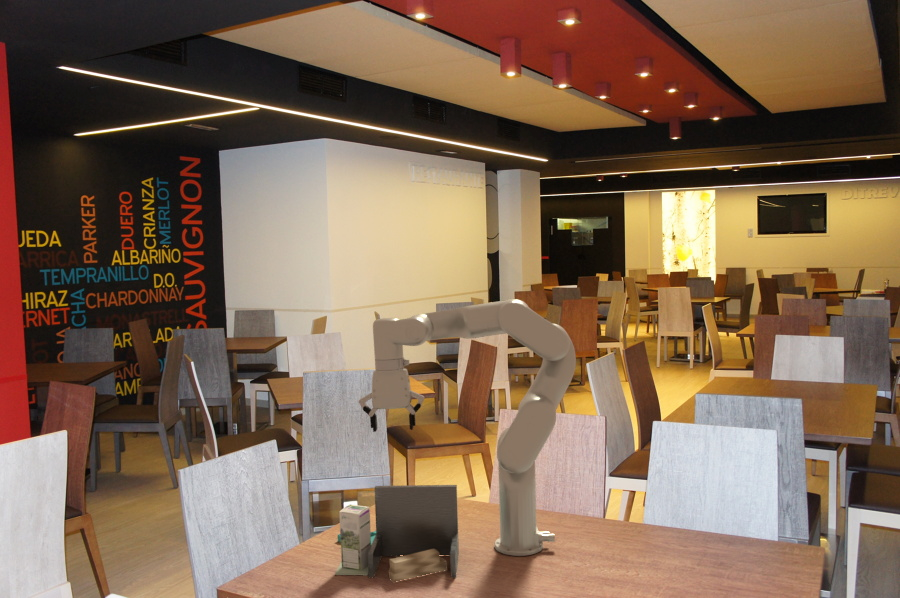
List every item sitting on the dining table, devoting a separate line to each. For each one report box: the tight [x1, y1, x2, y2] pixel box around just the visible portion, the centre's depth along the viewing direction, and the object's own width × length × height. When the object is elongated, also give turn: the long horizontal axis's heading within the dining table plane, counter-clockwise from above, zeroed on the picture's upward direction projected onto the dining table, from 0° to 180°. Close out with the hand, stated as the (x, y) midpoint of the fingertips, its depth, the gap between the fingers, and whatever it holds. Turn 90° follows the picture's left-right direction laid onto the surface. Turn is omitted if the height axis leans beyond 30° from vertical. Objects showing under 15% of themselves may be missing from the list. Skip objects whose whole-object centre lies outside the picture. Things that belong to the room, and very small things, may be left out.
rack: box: [368, 484, 460, 579], centre depth 186 cm, size 21×14×18 cm
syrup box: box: [338, 504, 372, 570], centre depth 186 cm, size 6×6×14 cm
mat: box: [334, 560, 369, 576], centre depth 186 cm, size 8×10×1 cm
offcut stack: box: [388, 549, 448, 583], centre depth 181 cm, size 14×3×5 cm, turn 116°
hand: (393, 429), depth 197 cm, fingers open, 9 cm apart
